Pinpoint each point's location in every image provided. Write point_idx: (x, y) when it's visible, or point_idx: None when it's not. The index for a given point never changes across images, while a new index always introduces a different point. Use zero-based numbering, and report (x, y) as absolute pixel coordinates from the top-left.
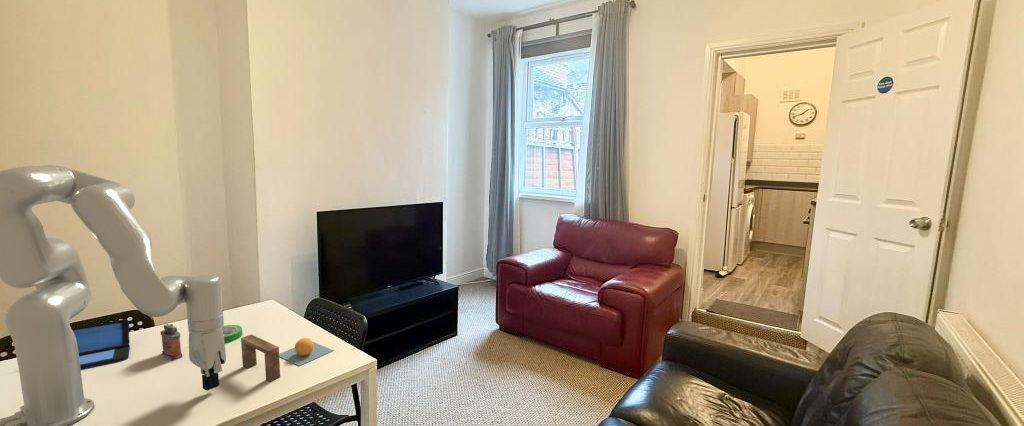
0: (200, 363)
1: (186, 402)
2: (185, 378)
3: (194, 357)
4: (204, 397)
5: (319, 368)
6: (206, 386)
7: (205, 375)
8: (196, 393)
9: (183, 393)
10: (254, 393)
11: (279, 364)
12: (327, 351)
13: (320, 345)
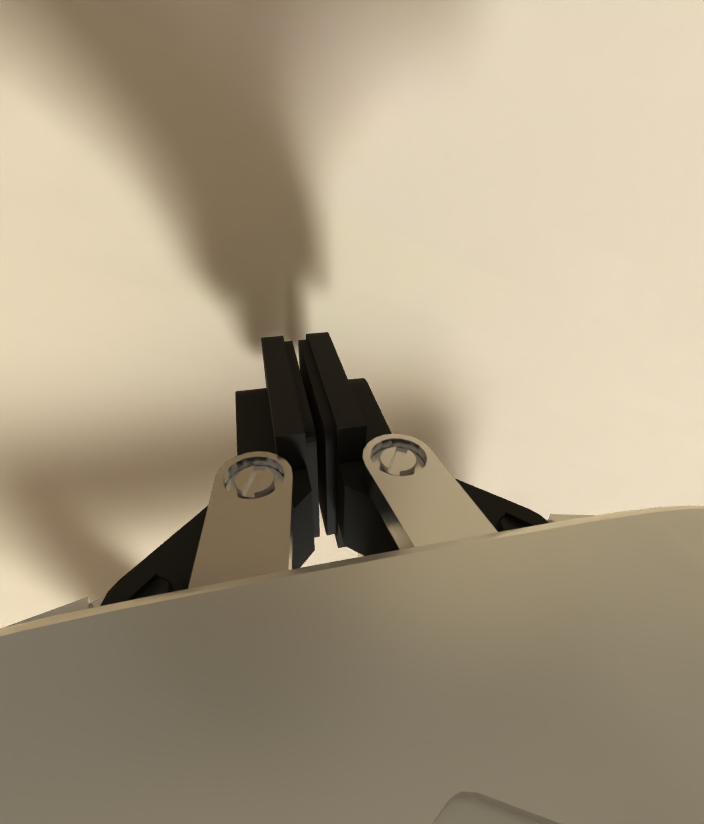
0: (113, 803)
1: (293, 127)
2: (695, 302)
3: (640, 817)
4: (251, 290)
5: None
6: (267, 366)
7: (286, 460)
8: (392, 270)
9: (501, 191)
10: (7, 549)
11: None
12: None
13: None
